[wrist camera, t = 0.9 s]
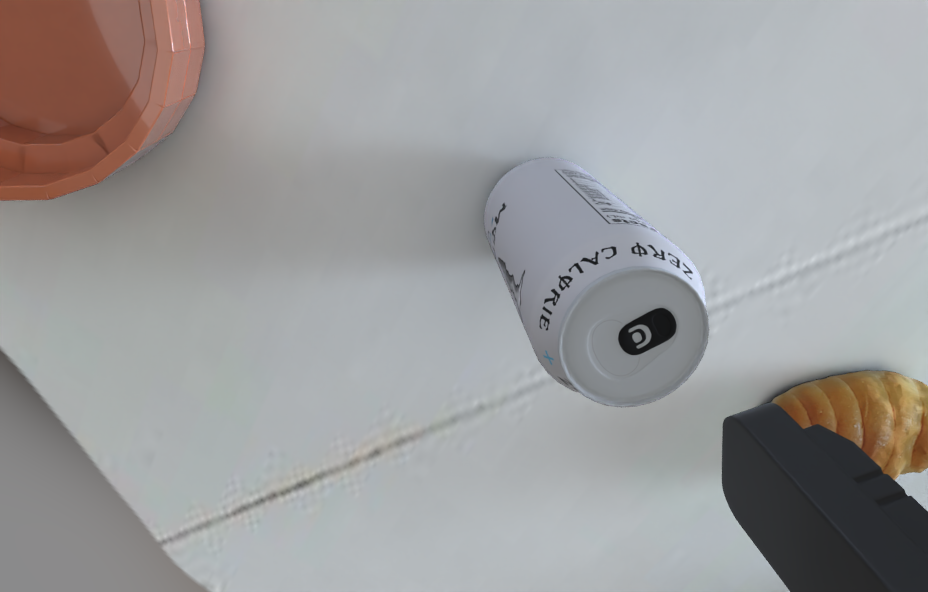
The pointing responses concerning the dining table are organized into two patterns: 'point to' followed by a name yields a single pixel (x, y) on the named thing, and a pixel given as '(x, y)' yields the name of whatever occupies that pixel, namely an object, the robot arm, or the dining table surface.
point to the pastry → (868, 415)
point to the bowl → (90, 88)
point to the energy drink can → (595, 285)
